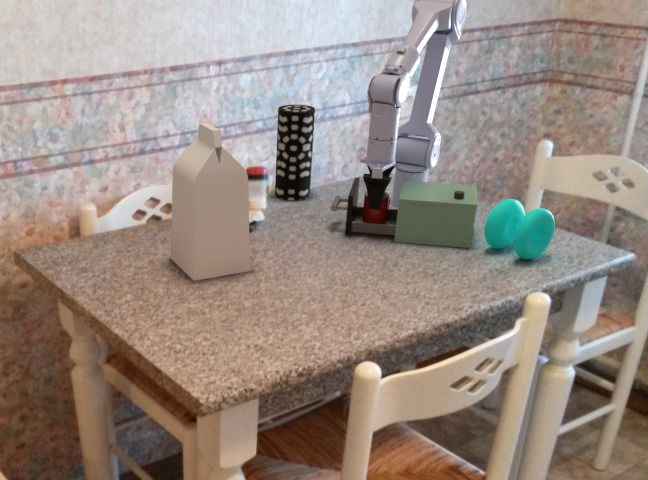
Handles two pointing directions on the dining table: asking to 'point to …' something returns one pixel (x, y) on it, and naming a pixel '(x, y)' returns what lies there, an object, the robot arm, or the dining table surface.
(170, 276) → the dining table surface
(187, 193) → the milk
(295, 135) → the spotted tube
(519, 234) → the turquoise yo-yo
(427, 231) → the green box with knob
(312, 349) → the dining table surface
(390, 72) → the robot arm
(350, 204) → the open drawer with handle
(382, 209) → the can
